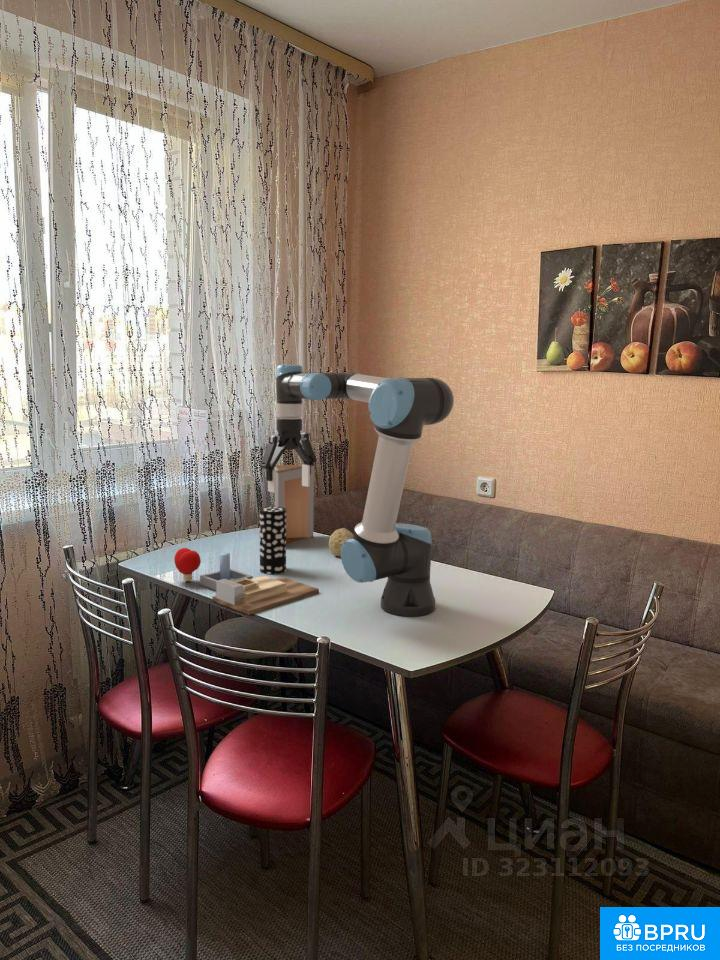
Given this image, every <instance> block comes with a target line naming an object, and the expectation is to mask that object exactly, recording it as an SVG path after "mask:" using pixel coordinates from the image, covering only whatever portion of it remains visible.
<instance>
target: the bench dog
mask: <svg viewBox="0 0 720 960" xmlns="http://www.w3.org/2000/svg"><path fill="white" fill-rule="evenodd" d="M216 589H217V592H216V595H217V599H220V600H222V601H225V602H228V603H230V604H233V605H237V604H240V603H243V585H242V584H239V583H236V582H233V581H230V580H228V579H222V580H218V581H216Z"/></svg>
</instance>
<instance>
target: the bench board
mask: <svg viewBox="0 0 720 960" xmlns="http://www.w3.org/2000/svg"><path fill="white" fill-rule="evenodd" d="M274 579H275V580H278V581H281V582H284V583H286V592H283V593H280V594H276V595H273V596H269V597H266V598H263V599H259V600H256V601H252V602H249V603H246V602H244V601H243V603H240V604H237V605H233V604H230V603H228V602H225V601H222V600H220V599H217V594H216V595H213V596H211V597H212V600H211V601H212V602H215V603H217V604H219V605H222V606H225V607H228V608H230V609H232V610H235V611H237V612H240V613H243V614H245V615H248V616H251V615H254V614H256V613H260V612H262V611H266V610H269V609H272V608H275V607H279V606H282V605H284V604H287V603H291V602H294V601H297V600H300V599H303V598H307V597H310V596H313V595H316V594H319V593H320V589H319V588H318V587H314V586H311V585H308V584H305V583H302V582H299V581H297V580H293V579H290V578H287V577H283V576H281V577H280V576H279V577H278V578H274Z"/></svg>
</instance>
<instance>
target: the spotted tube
mask: <svg viewBox="0 0 720 960" xmlns="http://www.w3.org/2000/svg"><path fill="white" fill-rule="evenodd" d="M286 571H287V546H286V508H283V507H275V506H263V507H261V508H259V572H261V573H262V574H265V575H279V574H283V573H285V572H286Z"/></svg>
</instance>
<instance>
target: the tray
mask: <svg viewBox="0 0 720 960" xmlns="http://www.w3.org/2000/svg"><path fill="white" fill-rule="evenodd" d="M245 578H247V579H253V578H254V577H253V575H252V574H248V573H245V572H241V571H239V570H236V569H232V568H230V581H233V582H234V581H237V580H241V579H245ZM218 580H220V570H218V571H214V572H210V573H206V574H201V575H199V586H201V587H203V588H206V589H209V590H211V591H213V592H216V593H217V589H216V581H218Z"/></svg>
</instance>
